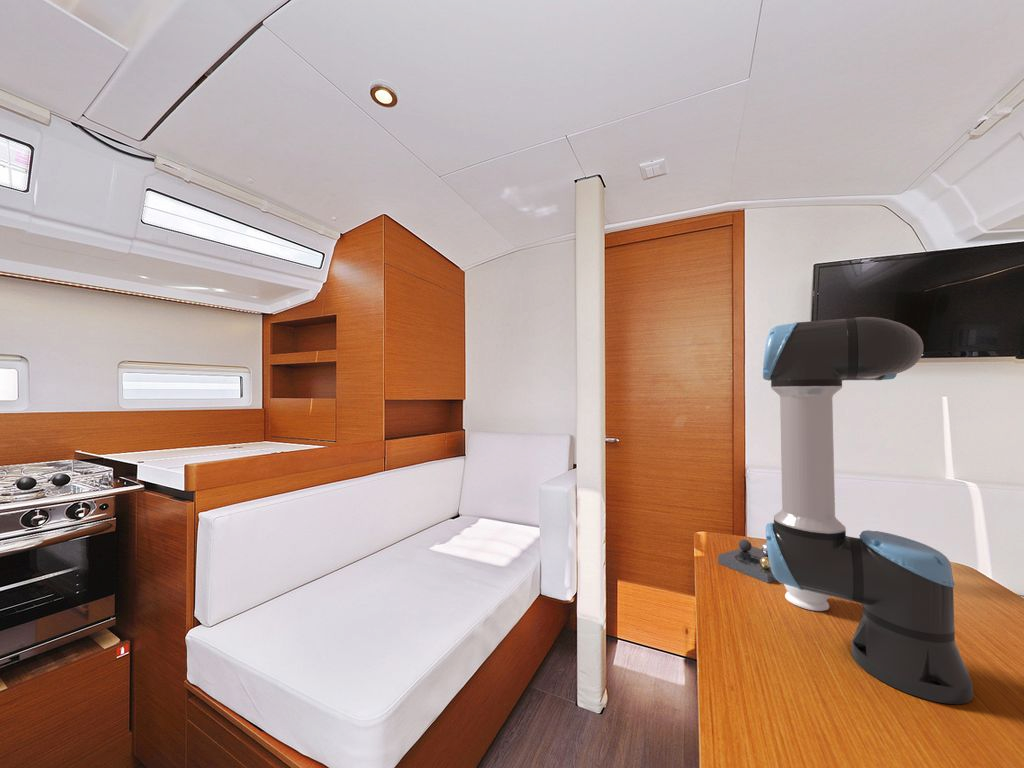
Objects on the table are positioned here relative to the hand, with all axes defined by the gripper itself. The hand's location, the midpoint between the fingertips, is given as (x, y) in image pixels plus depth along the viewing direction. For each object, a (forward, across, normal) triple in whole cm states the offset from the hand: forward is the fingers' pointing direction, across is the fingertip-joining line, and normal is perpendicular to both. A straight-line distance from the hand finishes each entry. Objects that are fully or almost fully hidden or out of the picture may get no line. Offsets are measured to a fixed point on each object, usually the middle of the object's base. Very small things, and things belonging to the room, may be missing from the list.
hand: (808, 471), depth 117 cm
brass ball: (+23, -22, +4) cm, 32 cm away
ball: (+23, -12, +7) cm, 27 cm away
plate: (+27, -16, +8) cm, 33 cm away
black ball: (+23, -14, +12) cm, 29 cm away
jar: (+27, -29, -8) cm, 40 cm away
